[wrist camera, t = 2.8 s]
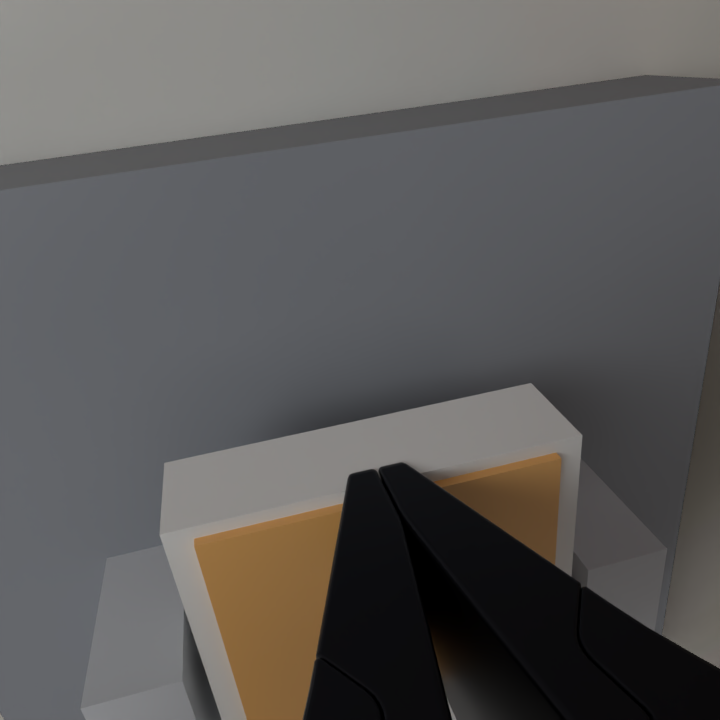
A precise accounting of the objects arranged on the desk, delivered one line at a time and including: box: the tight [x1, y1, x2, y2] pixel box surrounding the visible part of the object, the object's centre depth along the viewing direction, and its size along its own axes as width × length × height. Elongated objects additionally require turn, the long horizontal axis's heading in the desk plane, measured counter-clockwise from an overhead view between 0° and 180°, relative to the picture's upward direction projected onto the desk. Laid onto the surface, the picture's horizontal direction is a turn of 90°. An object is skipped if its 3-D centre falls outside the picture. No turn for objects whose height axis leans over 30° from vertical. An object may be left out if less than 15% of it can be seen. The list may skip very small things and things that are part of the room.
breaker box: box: [0, 75, 720, 720], centre depth 14 cm, size 18×16×6 cm
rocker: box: [159, 383, 582, 720], centre depth 12 cm, size 10×6×2 cm, turn 6°
